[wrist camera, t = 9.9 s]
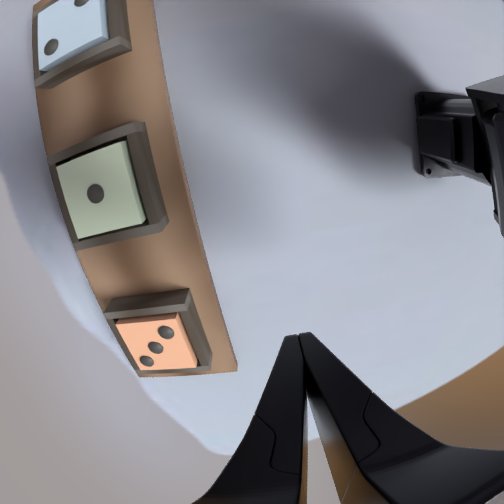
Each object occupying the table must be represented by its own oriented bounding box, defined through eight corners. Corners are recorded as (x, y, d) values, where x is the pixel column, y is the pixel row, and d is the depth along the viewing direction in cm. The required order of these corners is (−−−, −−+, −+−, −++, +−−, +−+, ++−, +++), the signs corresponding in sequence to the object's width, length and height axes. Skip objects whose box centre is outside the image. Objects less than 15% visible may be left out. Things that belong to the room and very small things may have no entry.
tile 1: (133, 139, 16) (119, 141, 14) (151, 213, 18) (141, 223, 16) (72, 162, 16) (55, 167, 14) (91, 228, 18) (77, 239, 16)
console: (147, -46, 11) (135, -63, 8) (237, 363, 25) (236, 387, 23) (40, 7, 11) (19, 0, 8) (141, 370, 26) (134, 392, 23)
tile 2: (110, -12, 11) (98, -22, 9) (115, 42, 13) (101, 35, 11) (52, 19, 11) (37, 13, 9) (55, 72, 13) (38, 70, 11)
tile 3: (180, 302, 21) (175, 319, 19) (199, 350, 23) (196, 368, 21) (124, 309, 21) (114, 325, 19) (146, 354, 23) (140, 371, 21)
